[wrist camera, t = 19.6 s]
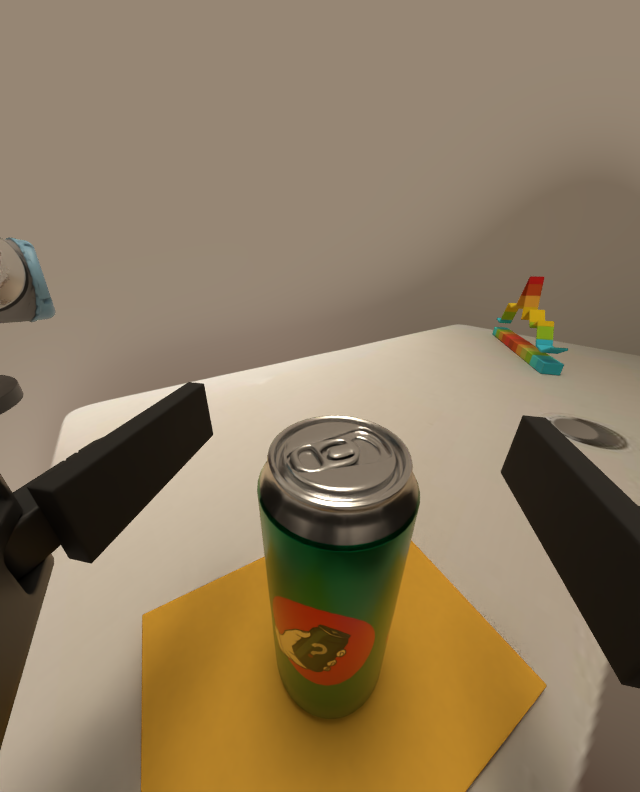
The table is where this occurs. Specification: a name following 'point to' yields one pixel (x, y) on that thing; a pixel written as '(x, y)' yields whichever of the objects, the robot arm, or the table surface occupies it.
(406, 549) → the soda can
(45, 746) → the table surface
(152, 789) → the orange flat board
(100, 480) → the robot arm
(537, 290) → the chart
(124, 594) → the table surface
